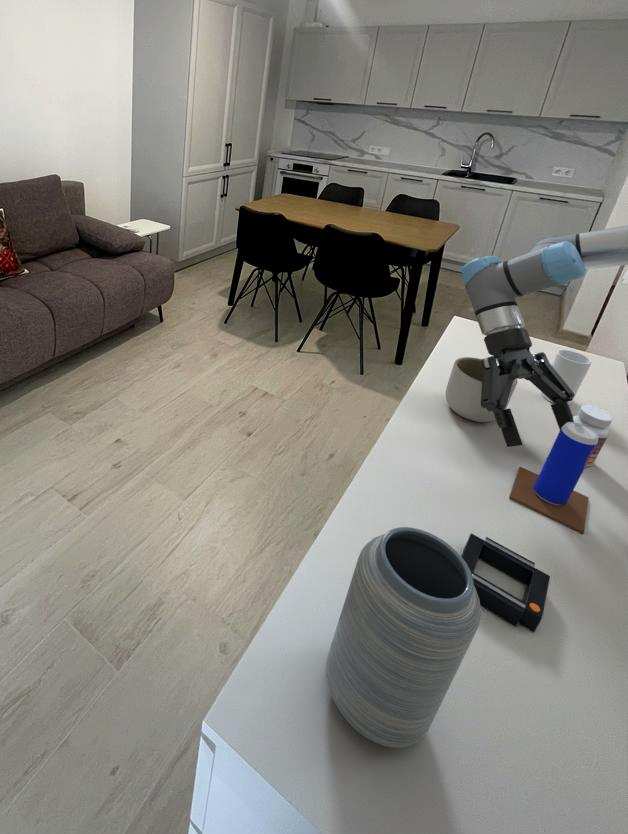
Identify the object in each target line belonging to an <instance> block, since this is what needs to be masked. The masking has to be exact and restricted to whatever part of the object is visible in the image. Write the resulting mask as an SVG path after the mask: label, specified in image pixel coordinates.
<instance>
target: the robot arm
mask: <svg viewBox="0 0 628 834" xmlns="http://www.w3.org/2000/svg"><path fill="white" fill-rule="evenodd" d="M617 266H618V267H619V266H628V225H623V226H617V227H610V228H605V229H598V230H592V231H585V232H580V233H574V234H568V235H559V234H552V235H551V234H550V235H547V236H544V237H542V238H540V239H538V240H537V241H535V243H534V244H533V245H532V246H531V247H530V250H529V251H528V252H527V253H525V254H523V255H519V256H517V257H514V258H511V259H509V260H505V261H502V260H501V258H499V256H496V255H485V256H482V257H478V258H475V259H473V260H470V261H468V262H466V263H465V264H464V265H463V266H462V268H461V276H462V280H463V283H464V289H465V290H466V293H467V295H468V298H469V301H470V303H471V306H472V309H473V312H474V315H475V317H476V320H477V324H478V326H479V329H480V332H481V335H482V336H484V337H483V343H484V345H485V347H486V350H487V353H488V354H489V355H491V356H488V357H485V358H480V359H481V365H482V369H483V375H482V391H481V407H482V408H486V409H487V410H488V411H493V413H494V416H495V419H496V420H495V421H496V424H497V427H498V428H499V429H500V430H501V433H502V436H503V439H504V442H505V445H506V448H510V447H519V446H524V443H523V441H522V438H521V436H520V433H519V430H518V427H517V424H516V420H515V418H514V415H513V412H512V409H511V408H507V407H506V404H507V400H508V397H509V394H510V390H511V387H512V383H513V381H514V380H515V379H517V380H522V379H524V380H525V381H529V382H530V383H531V384H532V385H533V386H535V388H537V389H538V390H539V391H540V393H541V392H543V393H544V394H545V395H546V396H547V397H548V398H549V399H550V400H551V401H552V402H551V403H553V402H554V403H553V404H550V408H551V410H552V413H553V415H554V419H555V421H556V423H557V427H558V430H559V431H560V430H561V428H562V426H564V425H565V424H566V423H567V422H574V421H573V417H574V415H573V412H572V409H571V408H570V405H569V404H568V401H572V402H573V401H574V399H573V397H574V396H575V397H576V395H574V393H573V391H572V390H571V389H570V388H569V386H568V385H567V384H566V383H565V381H564V380H563V379H562V378H561V376H560V375H559V374H558V373H557V371H556V370H555V369H554V368H553V366H552V364H551V363H550V361H549V359H548V357H547V355H546V353H545V352H543V351H541V352H538V353H534V354H532V353H531V351H530V349H531V348H532V346H533V342H532V339H531V336H530V334H529V331H528V329H526V328H524V327H525V324H526V323H525V320H524V318H523V316H522V312H521V310H520V308H519V306H518V302H517V299H516V298H520V297H523V296H526V295H530V294H533V293H536V292H539V291H543V290H547V289H550V288H554V287H557V286H561V285H566V284H568V283H569V282H572V281H575V280H578V279H581V278H583V277H584V276H585V274H586V271H587V270H594V269H603V268H612V267H617ZM498 369H499V371H498ZM562 391H564V393H563V392H562ZM575 397H574V398H575ZM488 399H489V401H488ZM505 407H506V409H505Z"/></svg>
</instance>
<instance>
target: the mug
mask: <svg viewBox="0 0 628 834" xmlns="http://www.w3.org/2000/svg"><path fill="white" fill-rule="evenodd" d="M592 363H593V361H592V360H591V359H590V358H589V357H588V356H586V355H584V354H583V353H580V352H577V351H574V350H571V349H558V350H557V352H556V354H555V356H554V359H553V361H552V364H551V365H552V366H553V368H554V369H555V370H556V371H557V373H558V374H559V375H560V376H561V378H562V379H563V380H564V381H565V383H566V384H567V385H568V386H569V388H570V389H571V390H572V391H573V393H574V395H575V396H574V397H573V400H574V399H575V397H576V395H577V393H578V390H579V389H580V387H581V385H582V383H583V381H584V379H585V377H586V375H587V373H588V371H589V369H590V367H591V365H592ZM562 392H563V393H564V391H562ZM540 395H541V397H543V398H544V399H545V400H546V401H549V402H550V403H553V404H555V403H554V402H552V401H551V400H550V399H549V398H548V397H547V396H546V395H545V394H544V393H543V392H541V391H540ZM573 400H572V401H568V404H569V406H570V405H571V404H572V402H573Z"/></svg>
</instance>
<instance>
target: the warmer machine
mask: <svg viewBox="0 0 628 834" xmlns="http://www.w3.org/2000/svg"><path fill="white" fill-rule="evenodd" d="M460 556H461V557H462V558H463V559H464V561H465V562H466V564H467V565H468V567H469V569H470V571H471V574H472V577H473V583H474V586H475V588H476V591H477V594H478V597H479V600H480V607H483V608H484V609H486V610H487V611H489V612H490V613H492V614H494V615H496V616H497V617H499V618H500V619H502V620H503V621H505V622H507V623H509V624H510V625H512V626H514V627H517V626H518V624H520V625H522V626H523V627H524V628H526V629H528V630H530V631H531V632H533V633H535V631H536V630H537V628H538V626H539V624H540V622H541V621H542V619H543V616H544V609H545V605H546V601H547V600H546V599H547V596H548V595H547V594H548V588H549V583H550V579H551V575H549V574H548V573H545V572H543V571H542V570H540V569H538V568H536V562H534V561H532V560H530V559H528V558H526V557H524V556H523V555H521V554H519V553H517V552H515V551H514V550H512V549H510V548H508V547H506V546H504V545H502V544H501V543H499V542H497V541H495V540H493V539H492V538H490V537H487V536H486V537H485V539H483V538H481V537H479V536H477V535H475V534H474V533H472V532H471V533H470V534H469V536H468V539H467V541H466V543H465V545H464V548H463V551H462V552H461V554H460ZM479 560H481V561H482V562H484V563H486V564H487V565H489V566H491V567H493V568H494V569H496V570H498V571H500V572H502V573H503V574H505V575H507V576H508V577H510V578H512V579H514V580H516V581H517V582H520V584H522V585H524V586H525V589H524V593H523V596H522V599H520V598H518V596H515V595H514V594H511V593H510V592H508V591H506V590H505V589H503V588H502V587H500V586H498V585H496V584H495V583H493V582H491V581H490V580H488V579H486V578H485V577H482V576H481V575H479V574H477V573H476V572H474V571H475V569H476V566H477V563H478V561H479Z"/></svg>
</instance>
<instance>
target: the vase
mask: <svg viewBox="0 0 628 834" xmlns="http://www.w3.org/2000/svg"><path fill="white" fill-rule="evenodd" d="M481 616H482V609H481V605H480V600H479V597H478V594H477V591H476V588H475V586H474V583H473V577H472V574H471V571H470V569H469V567H468V565H467V564H466V562H465V561H464V559H463V558H462V557H461V554H460V553H459V552H458V551H457V550H456V549H455V548H453V547H452V545H450V544H449V543H448V542H446V541H445V540H443V539H442V538H440V537H438V536H437V535H435V534H433V533H431V532H428V531H426V530H423V529H420V528H415V527H408V526H400V527H395V528H392V529H390V530H388V531H387V532H385V533H383V534H380V535H378V536H376V537H373V538H372V539H370V540H369V541H368V542H367V543H366V544H365V545H364V547H363V548H362V549H361V550H360V552H359V555H358V558H357V561H356V565H355V567H354V570H353V574H352V576H351V579H350V583H349V586H348V589H347V593H346V596H345V599H344V602H343V606H342V608H341V612H340V615H339V618H338V621H337V625H336V629H335V631H334V634H333V638H332V641H331V644H330V647H329V650H328V653H327V657H326V664H325V676H326V681H327V686H328V689H329V692H330V695H331V698H332V700H333V702H334V704H335V706H336V707H337V709H338V711H339V712H340V714H341V715H342V717H343V718H344V719H345V720H346V722H347V723H348V724H349V725H350V726H351V727H352V728H353V729H354V730H356V732H357V733H358V734H359V735H361V736H363V737H364V738H365V739H367V740H369V741H371V742H373V743H375V744H377V745H380V746H383V747H386V748H394V749H402V748H407V747H411V746H414V745H416V744H417V743H418V742H420V741H421V740H423V738H424V737H425V736H426V734H427V733H428V732H429V730H430V728H431V726H432V724H433V721H434V720H435V718H436V715H437V713H438V711H439V709H440V708H441V705H442V703H443V701H444V699H445V697H446V695H447V693H448V690H449V689H450V686H451V685H452V682H453V680H454V679H455V676H456V674H457V672H458V670H459V668H460V667H461V664H462V662H463V660H464V658H465V655H466V654H467V652H468V650H469V648H470V646H471V644H472V641H473V639H474V638H475V635H476V634H477V631H478V628H479V627H480V625H481Z"/></svg>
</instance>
